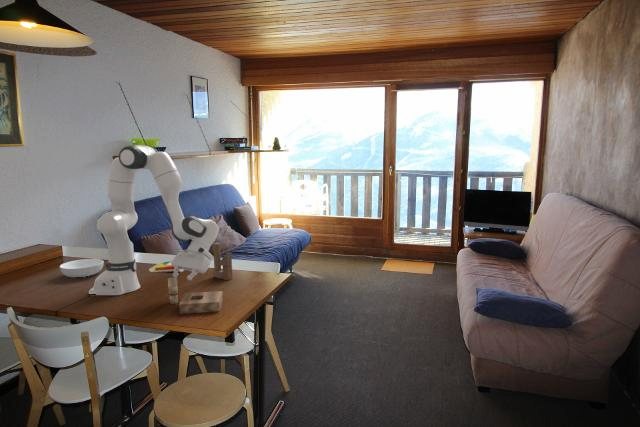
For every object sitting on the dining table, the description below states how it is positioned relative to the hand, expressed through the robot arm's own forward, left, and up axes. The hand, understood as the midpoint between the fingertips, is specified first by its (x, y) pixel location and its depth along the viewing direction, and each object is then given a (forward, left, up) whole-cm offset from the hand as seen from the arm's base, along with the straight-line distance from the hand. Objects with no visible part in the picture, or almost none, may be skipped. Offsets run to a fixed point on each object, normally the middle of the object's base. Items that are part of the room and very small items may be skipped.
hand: (181, 277), depth 195 cm
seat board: (+10, -11, -10) cm, 18 cm away
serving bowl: (-61, +49, -10) cm, 79 cm away
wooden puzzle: (-16, +55, -11) cm, 59 cm away
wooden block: (+15, +30, -10) cm, 35 cm away
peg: (-3, -4, -10) cm, 11 cm away
